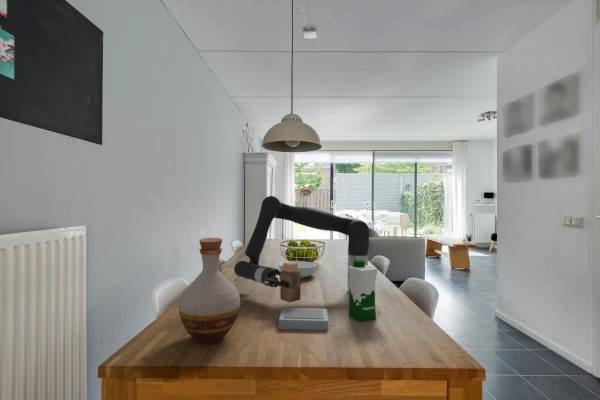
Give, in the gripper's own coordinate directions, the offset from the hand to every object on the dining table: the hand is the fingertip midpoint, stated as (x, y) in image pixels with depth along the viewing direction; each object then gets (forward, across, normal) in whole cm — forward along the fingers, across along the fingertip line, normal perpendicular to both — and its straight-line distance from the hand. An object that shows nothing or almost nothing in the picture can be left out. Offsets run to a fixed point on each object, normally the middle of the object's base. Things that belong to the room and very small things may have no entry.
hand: (294, 283), depth 125 cm
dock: (+11, -6, +10) cm, 16 cm away
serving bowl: (-42, +40, +11) cm, 59 cm away
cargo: (-3, 0, -4) cm, 5 cm away
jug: (+1, -36, +10) cm, 37 cm away
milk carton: (+21, +14, +11) cm, 27 cm away
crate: (-3, 0, +7) cm, 7 cm away
